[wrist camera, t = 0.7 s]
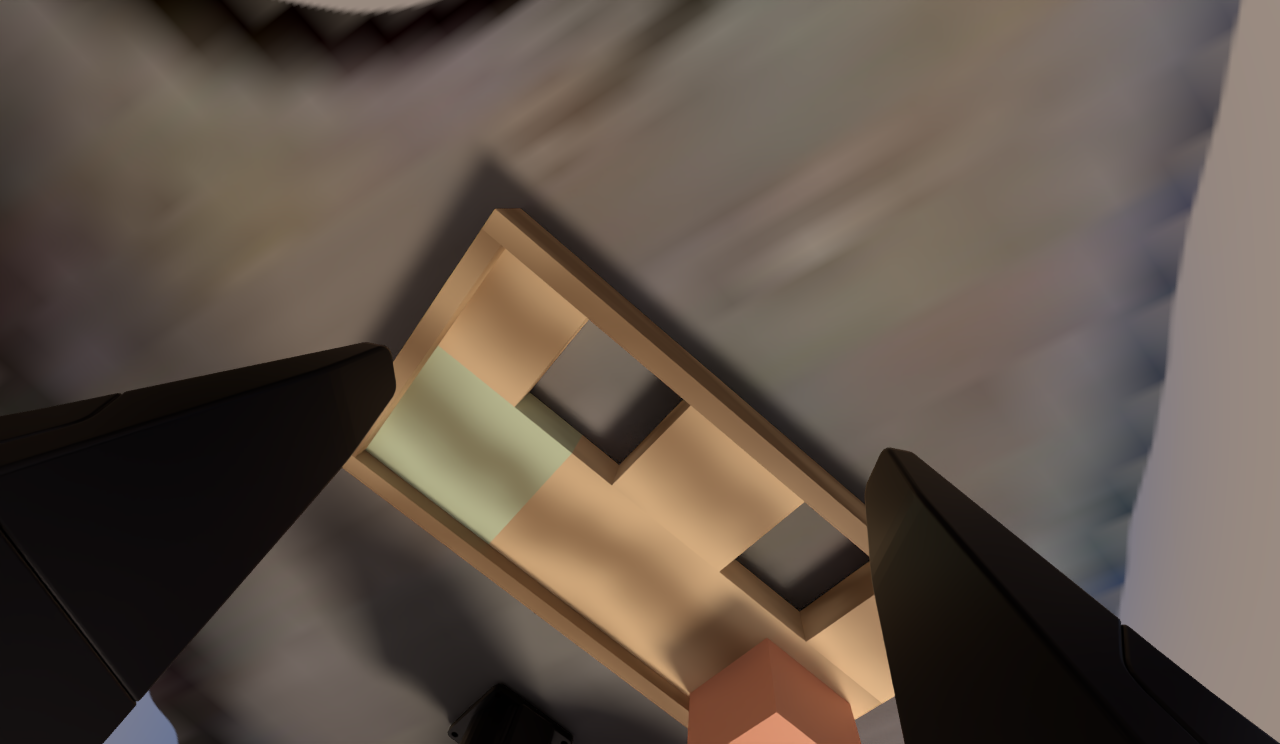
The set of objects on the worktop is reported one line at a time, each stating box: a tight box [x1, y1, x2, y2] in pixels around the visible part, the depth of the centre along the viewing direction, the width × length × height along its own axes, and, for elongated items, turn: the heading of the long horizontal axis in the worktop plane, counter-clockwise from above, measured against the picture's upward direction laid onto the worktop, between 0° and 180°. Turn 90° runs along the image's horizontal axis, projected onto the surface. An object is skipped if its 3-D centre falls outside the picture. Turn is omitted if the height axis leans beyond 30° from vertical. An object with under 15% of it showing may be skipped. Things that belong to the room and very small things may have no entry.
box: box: [342, 208, 895, 728], centre depth 25 cm, size 16×30×3 cm, turn 50°
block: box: [687, 638, 861, 744], centre depth 25 cm, size 6×6×4 cm
